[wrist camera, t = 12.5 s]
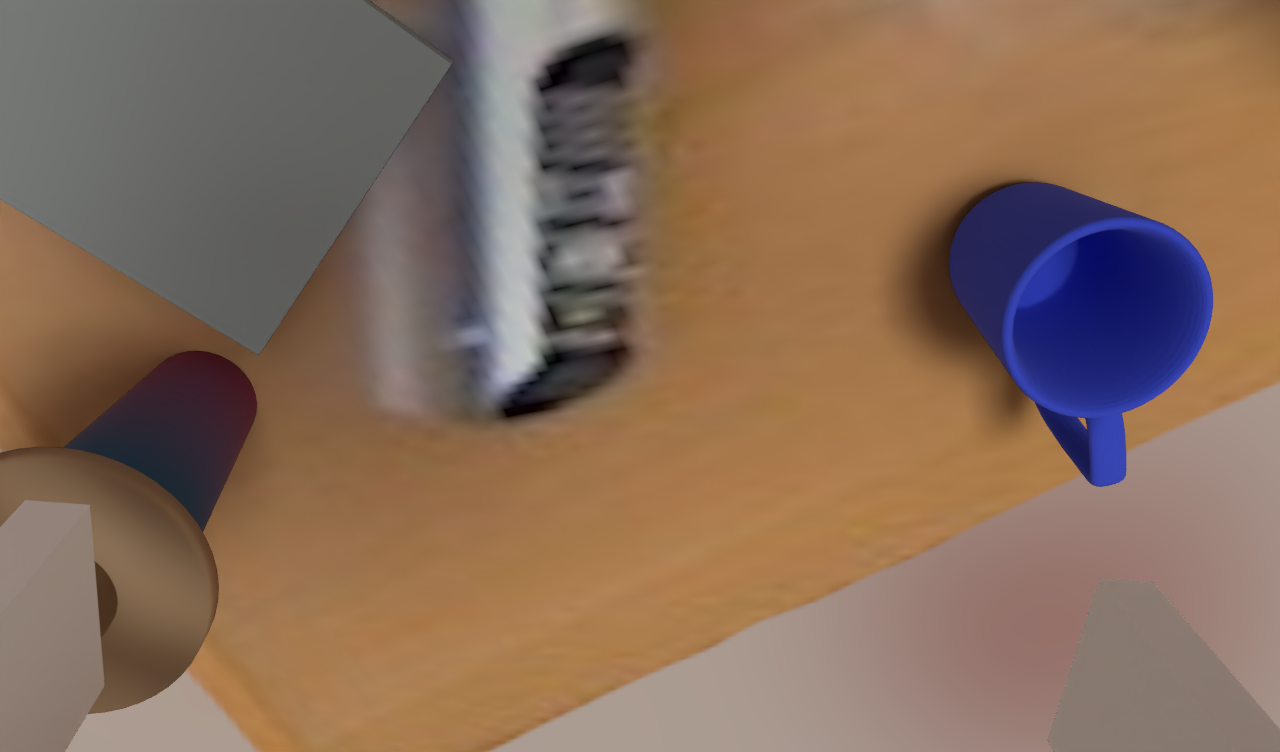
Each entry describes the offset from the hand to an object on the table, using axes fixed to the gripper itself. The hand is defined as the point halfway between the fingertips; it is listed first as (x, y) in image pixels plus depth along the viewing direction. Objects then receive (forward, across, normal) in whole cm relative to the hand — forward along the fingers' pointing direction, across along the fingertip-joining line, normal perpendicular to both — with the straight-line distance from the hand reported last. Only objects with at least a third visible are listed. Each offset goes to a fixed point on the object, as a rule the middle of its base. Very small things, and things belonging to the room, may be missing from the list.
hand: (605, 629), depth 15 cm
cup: (+37, -17, -15) cm, 43 cm away
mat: (+37, -17, -1) cm, 40 cm away
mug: (+37, +21, -5) cm, 43 cm away
